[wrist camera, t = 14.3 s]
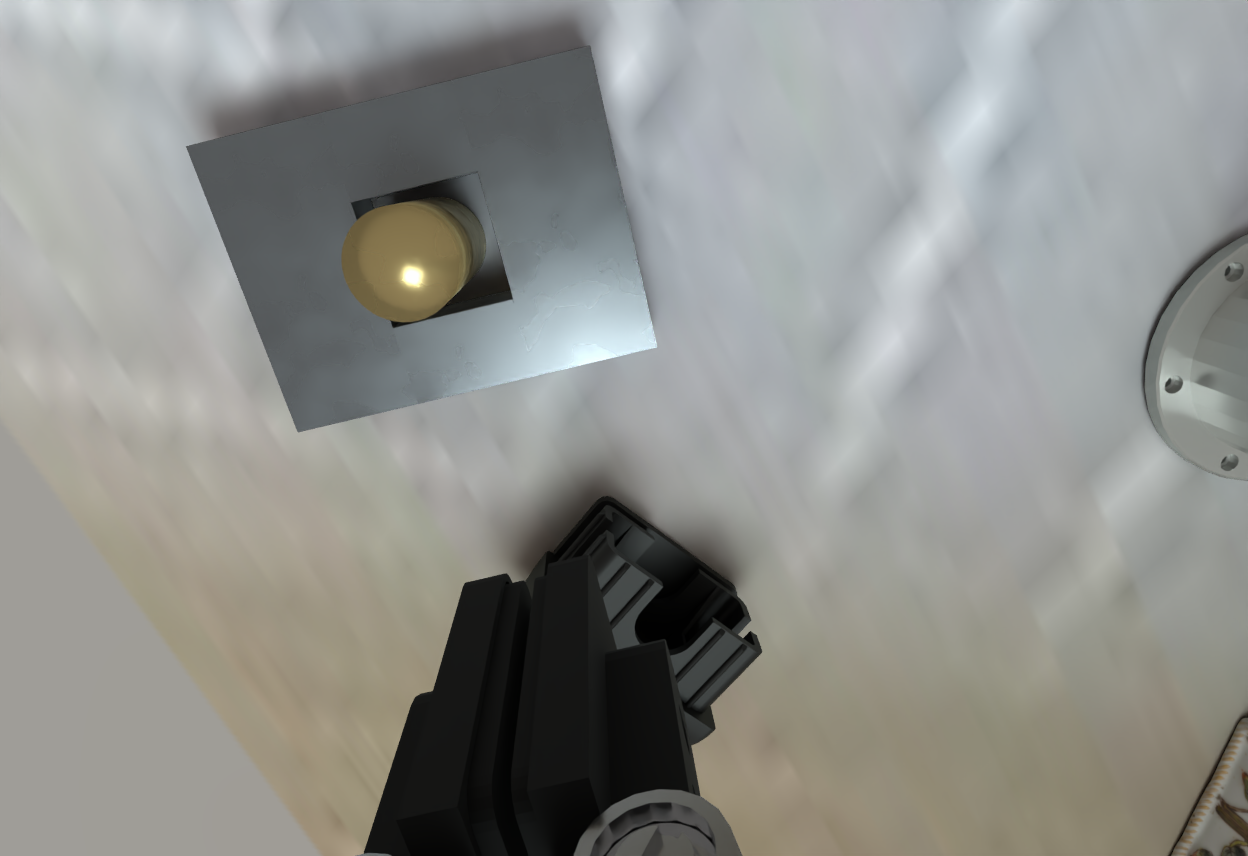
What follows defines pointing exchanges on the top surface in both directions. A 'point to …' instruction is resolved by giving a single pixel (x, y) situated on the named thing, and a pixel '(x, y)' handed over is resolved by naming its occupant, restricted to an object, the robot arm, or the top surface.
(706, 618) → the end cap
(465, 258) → the beige cylinder
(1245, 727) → the decorative jar
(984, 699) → the top surface
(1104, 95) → the top surface
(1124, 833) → the top surface
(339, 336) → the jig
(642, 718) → the robot arm
